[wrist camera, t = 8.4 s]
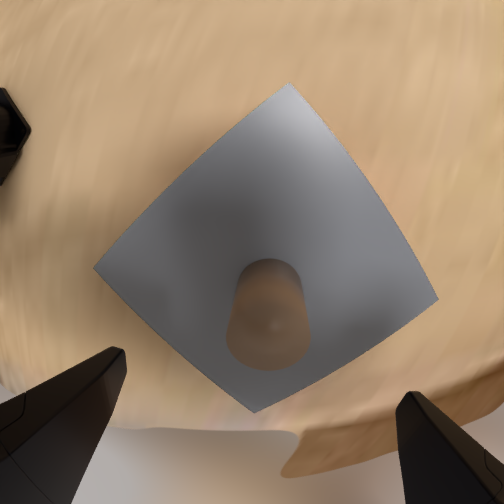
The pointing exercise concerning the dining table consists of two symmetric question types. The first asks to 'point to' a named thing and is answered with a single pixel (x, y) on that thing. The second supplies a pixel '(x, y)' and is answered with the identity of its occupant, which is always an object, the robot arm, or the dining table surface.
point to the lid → (269, 258)
